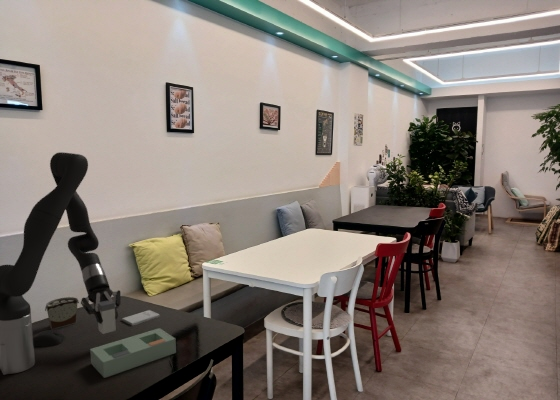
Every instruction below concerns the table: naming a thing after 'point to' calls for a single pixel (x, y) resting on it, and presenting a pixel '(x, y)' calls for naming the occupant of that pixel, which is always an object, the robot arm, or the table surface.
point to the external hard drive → (140, 317)
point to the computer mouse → (48, 338)
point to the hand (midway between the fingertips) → (108, 320)
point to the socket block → (132, 352)
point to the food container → (62, 312)
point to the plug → (107, 317)
